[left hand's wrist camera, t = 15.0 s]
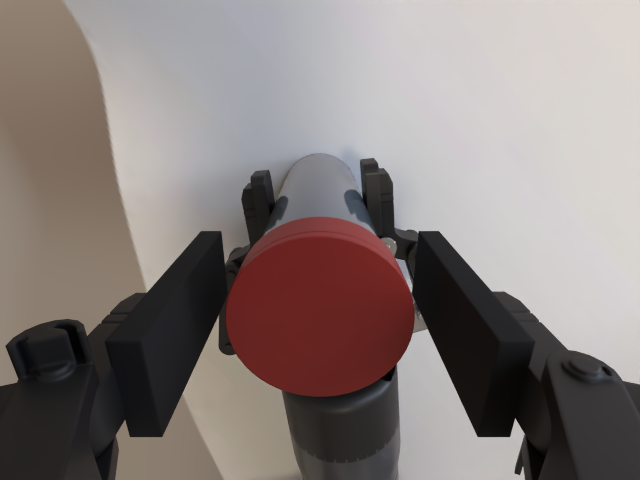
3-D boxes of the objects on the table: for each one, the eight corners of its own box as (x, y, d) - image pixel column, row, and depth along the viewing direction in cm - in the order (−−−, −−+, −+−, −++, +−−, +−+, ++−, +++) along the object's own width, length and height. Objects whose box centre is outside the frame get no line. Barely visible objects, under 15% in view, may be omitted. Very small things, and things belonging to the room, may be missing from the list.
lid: (278, 185, 10) (271, 201, 9) (434, 261, 11) (452, 287, 10) (213, 325, 12) (197, 358, 11) (352, 381, 13) (357, 419, 12)
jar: (367, 170, 25) (432, 272, 10) (338, 233, 26) (359, 394, 12) (300, 141, 24) (271, 208, 10) (274, 207, 26) (217, 347, 11)
